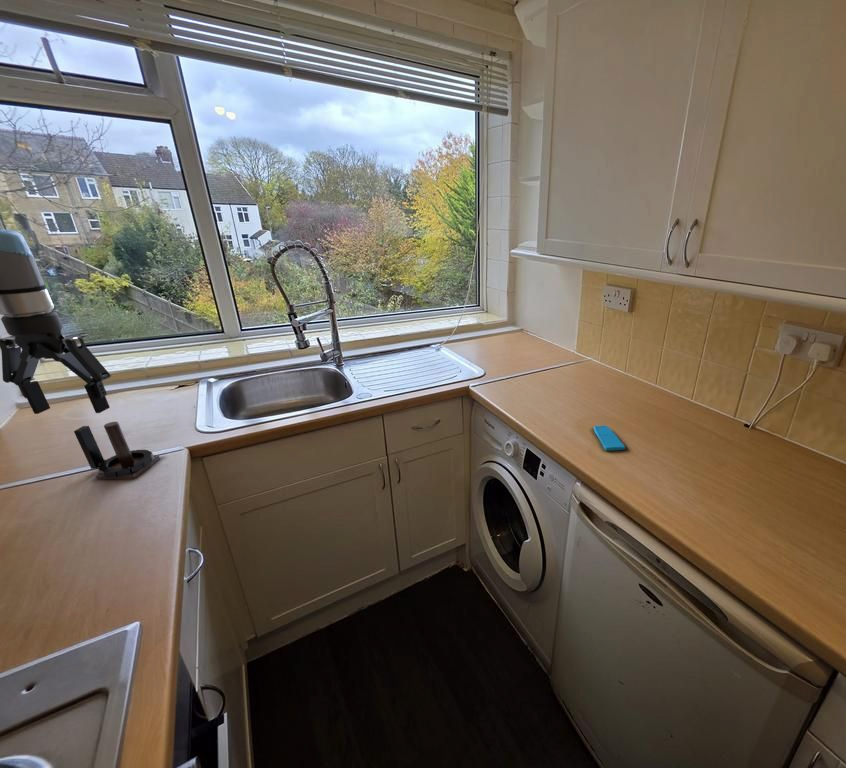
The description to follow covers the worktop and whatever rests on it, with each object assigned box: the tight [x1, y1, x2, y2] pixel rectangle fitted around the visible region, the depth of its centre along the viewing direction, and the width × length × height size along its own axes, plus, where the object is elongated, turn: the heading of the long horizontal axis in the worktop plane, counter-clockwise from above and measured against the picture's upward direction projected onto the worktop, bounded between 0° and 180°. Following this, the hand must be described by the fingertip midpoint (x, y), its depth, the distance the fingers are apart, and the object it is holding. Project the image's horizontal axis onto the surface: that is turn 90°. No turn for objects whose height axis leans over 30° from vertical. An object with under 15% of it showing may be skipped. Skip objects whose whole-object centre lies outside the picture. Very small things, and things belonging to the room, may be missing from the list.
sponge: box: [593, 425, 626, 452], centre depth 112 cm, size 2×12×6 cm
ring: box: [73, 425, 155, 477], centre depth 93 cm, size 12×9×10 cm
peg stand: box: [95, 421, 161, 480], centre depth 93 cm, size 8×8×12 cm
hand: (72, 410), depth 89 cm, fingers open, 12 cm apart
